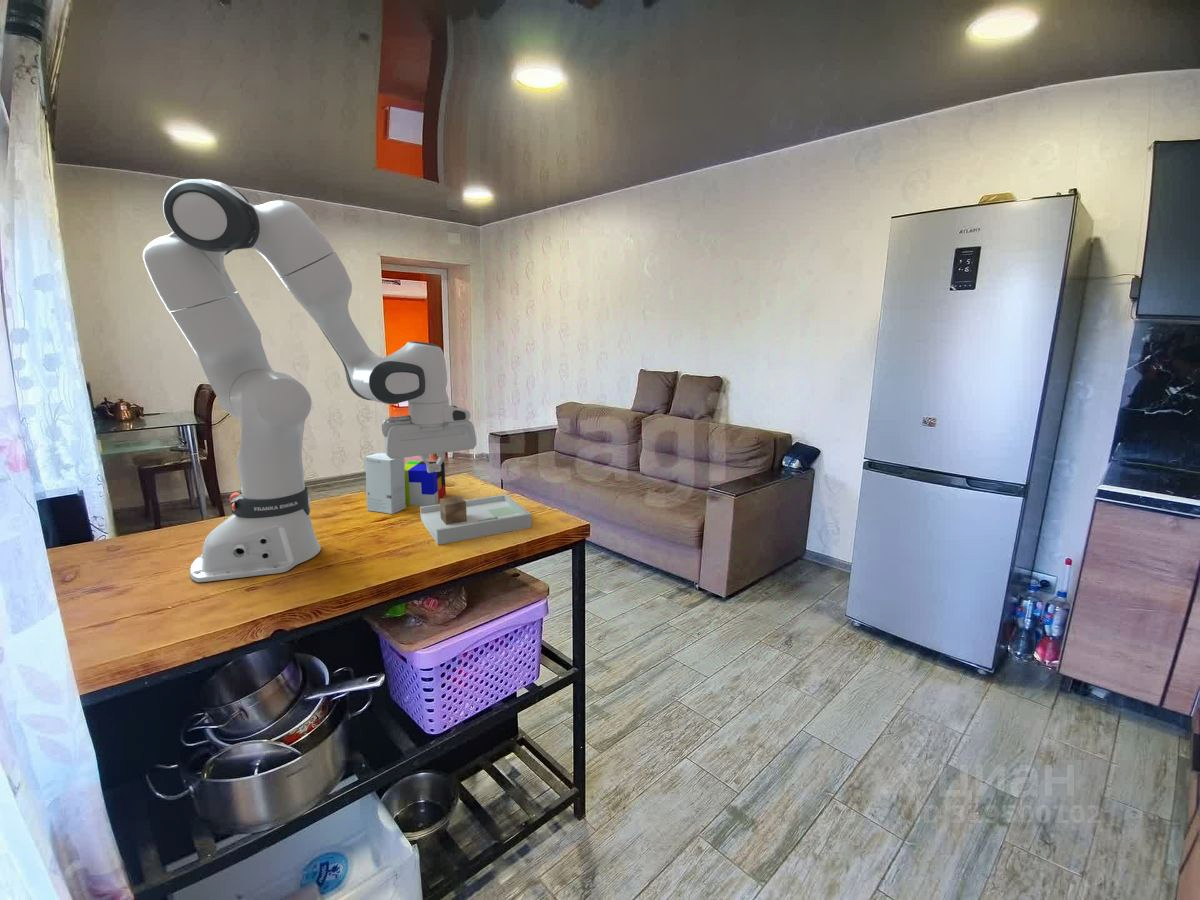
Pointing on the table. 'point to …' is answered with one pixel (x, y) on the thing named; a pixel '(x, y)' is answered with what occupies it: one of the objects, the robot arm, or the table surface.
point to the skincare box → (385, 483)
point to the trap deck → (477, 519)
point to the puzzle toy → (423, 484)
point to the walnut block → (453, 510)
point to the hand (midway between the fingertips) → (434, 471)
